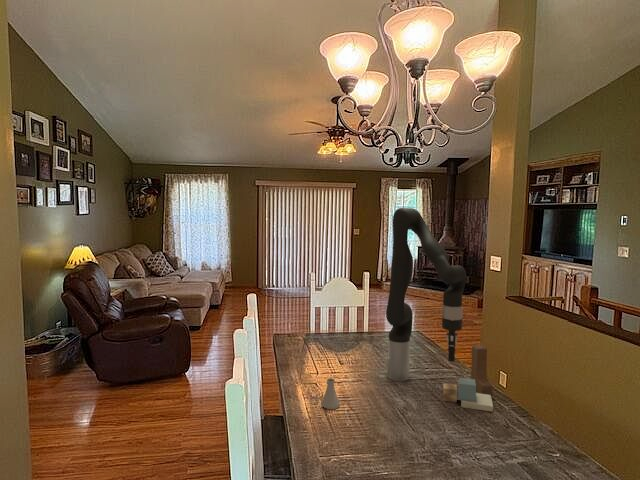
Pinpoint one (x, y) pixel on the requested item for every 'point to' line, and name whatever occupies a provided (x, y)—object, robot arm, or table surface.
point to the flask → (330, 396)
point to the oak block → (450, 392)
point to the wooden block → (480, 370)
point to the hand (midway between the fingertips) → (451, 357)
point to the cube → (467, 389)
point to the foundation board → (478, 402)
